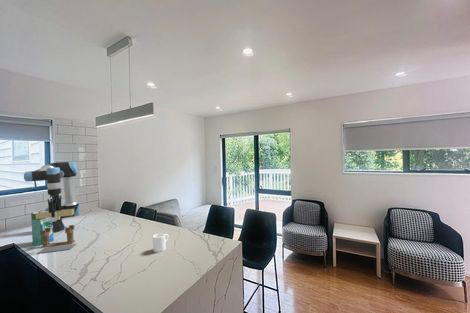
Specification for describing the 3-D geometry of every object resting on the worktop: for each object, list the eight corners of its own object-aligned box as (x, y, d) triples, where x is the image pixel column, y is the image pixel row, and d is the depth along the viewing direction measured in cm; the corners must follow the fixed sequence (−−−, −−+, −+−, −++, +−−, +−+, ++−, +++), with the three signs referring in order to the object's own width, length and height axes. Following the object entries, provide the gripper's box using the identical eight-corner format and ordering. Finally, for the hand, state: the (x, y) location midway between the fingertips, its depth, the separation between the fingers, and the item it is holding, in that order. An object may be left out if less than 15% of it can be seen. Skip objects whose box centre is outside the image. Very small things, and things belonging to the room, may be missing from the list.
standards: (45, 244, 165) (45, 228, 165) (75, 241, 170) (74, 224, 170) (40, 248, 158) (39, 231, 158) (71, 244, 163) (70, 227, 163)
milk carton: (41, 245, 165) (40, 213, 165) (32, 244, 167) (30, 213, 166) (53, 240, 174) (52, 210, 173) (45, 240, 175) (43, 210, 175)
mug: (172, 246, 151) (172, 232, 151) (158, 253, 141) (157, 238, 141) (165, 244, 155) (164, 230, 155) (150, 250, 146) (150, 236, 146)
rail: (35, 219, 151) (35, 213, 151) (39, 217, 154) (39, 212, 154) (71, 215, 156) (71, 209, 156) (74, 214, 160) (74, 208, 160)
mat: (44, 248, 157) (44, 248, 157) (76, 244, 162) (76, 243, 162) (37, 254, 149) (36, 253, 149) (70, 249, 154) (70, 248, 154)
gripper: (54, 187, 163) (56, 217, 163) (40, 190, 146) (42, 224, 146) (66, 186, 164) (67, 216, 165) (53, 189, 148) (55, 223, 148)
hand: (55, 220), depth 155 cm, fingers closed on rail, 4 cm apart
